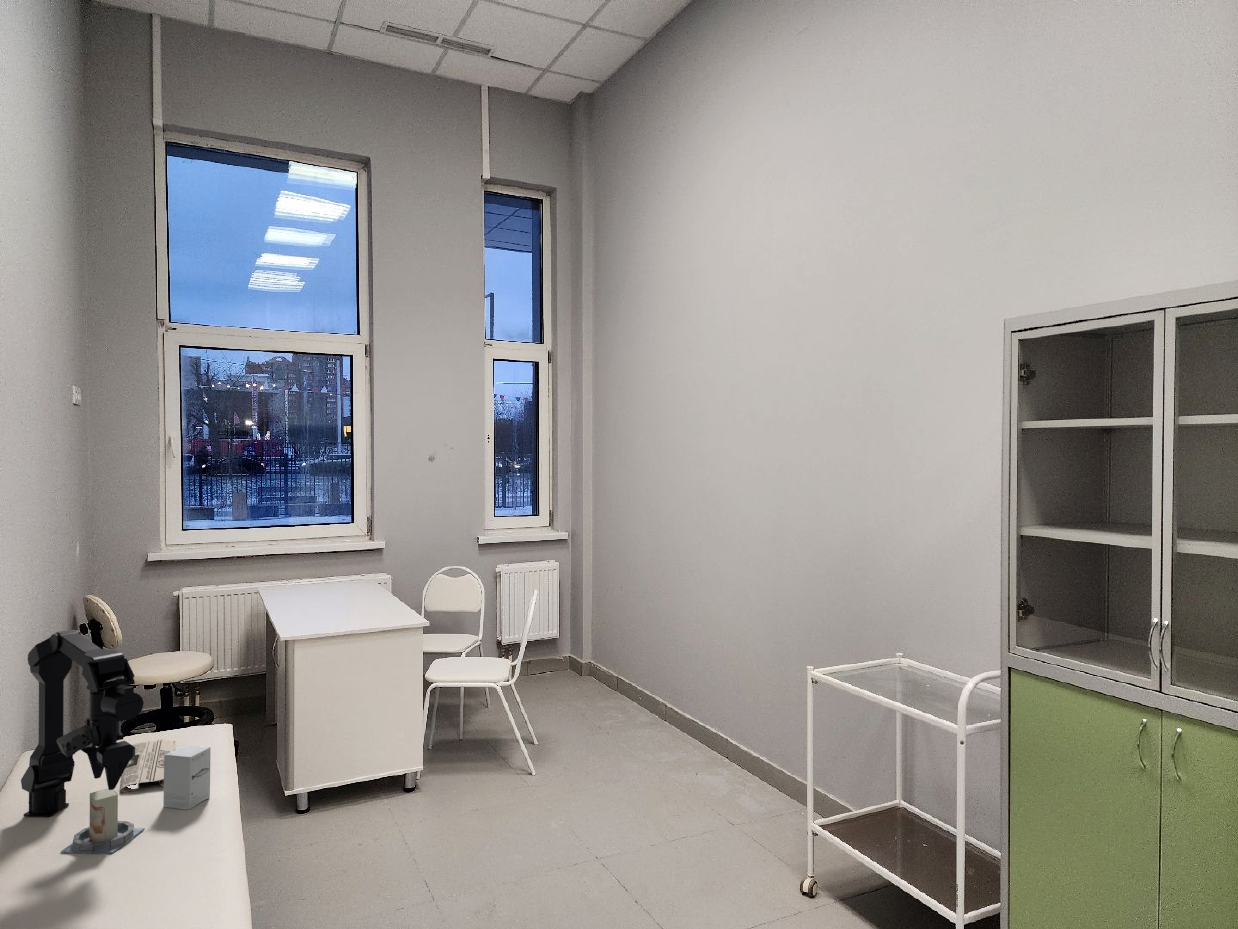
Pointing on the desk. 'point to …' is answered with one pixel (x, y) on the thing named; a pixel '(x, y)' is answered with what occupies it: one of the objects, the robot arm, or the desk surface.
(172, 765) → the supplement box
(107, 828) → the skincare box
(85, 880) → the desk surface
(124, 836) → the collar
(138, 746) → the newspaper
